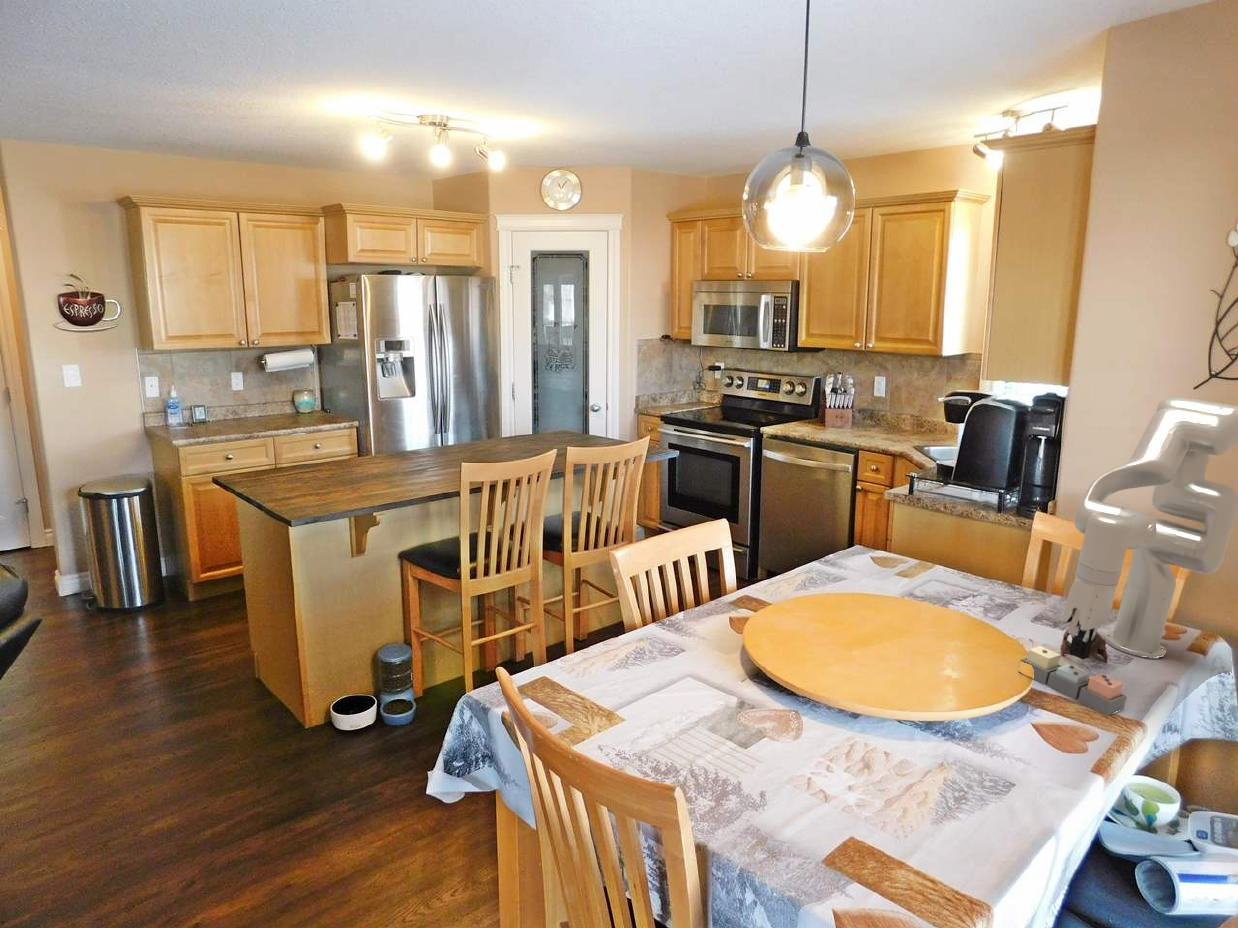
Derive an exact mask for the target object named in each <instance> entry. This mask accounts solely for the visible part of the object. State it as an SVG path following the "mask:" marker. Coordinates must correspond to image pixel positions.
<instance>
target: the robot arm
mask: <svg viewBox="0 0 1238 928" xmlns="http://www.w3.org/2000/svg"><path fill="white" fill-rule="evenodd" d="M1236 447H1238V405H1233V404H1228V403H1221V402H1214V401H1209V400H1208V401H1207V400H1201V399H1198V398H1197V399H1195V398H1189V397H1182V396H1181V397H1180V396H1179V397H1178V396H1177V397H1175V396H1174V397H1172V396H1171V397H1166V398H1162V399H1161V400H1160V402H1159V403H1158V405H1157V407H1156V411H1155V413H1154V414H1153V415H1152V417H1151V419H1150V421H1149V423H1148V424H1147V426H1146V428H1145V430H1144V432H1143V434H1142V436H1141V437H1140V440H1139V442H1138V444H1137V446H1136V447H1135V449H1134V450H1133V453H1132V455H1131V457H1130V459H1129V460H1128V461H1127V462H1124V463H1122V464H1119V465H1117V466H1115V467H1113V468H1111V469H1108V470H1107V471H1106V472H1104V473H1102V474H1101V475H1099V476H1098V477H1097V478H1095V480H1093V481H1092V482H1091V484H1090V485H1089V487H1087V489H1086V492H1085V494H1084V495H1083V497H1082V498H1081V500H1080V503H1079V505H1078V507H1077V508H1076V511H1075V515H1074V519H1073V520H1074V526H1075V528H1076V530H1078V532H1080V533H1081V534H1083V539H1082V540H1083V541H1082V544H1081V549H1080V552H1079V553H1080V554H1079V557H1078V562H1077V566H1076V570H1075V579H1074V580H1073V583H1072V585H1071V587H1070V589H1069V592H1068V596H1067V599H1066V603H1065V606H1064V609H1063V612H1062V617H1061V621H1062V623H1063V624H1069V623H1070V624H1069V627H1068V629H1069V630H1068V629H1067V630H1068V633H1069V634H1070V635H1071V634H1072V637H1073V638H1072V637H1071V639H1072V640H1071V642H1070V643H1071V647H1070V651H1069V653H1070V654H1071V655H1070V656H1072V655H1073V656H1072V657H1076V658H1078V659H1080V660H1082V661H1083V660H1087V659H1089V657H1090V656H1089V654H1090V650H1091V646H1092V642H1093V641H1091V640H1093V639H1094V638H1095V635H1096V631H1097V632H1098V629H1099V628H1100V627H1102V626H1104V625H1105V624H1107V623H1108V622H1109V619H1110V617H1111V614H1112V610H1113V605H1114V601H1115V593H1116V588H1117V587H1118V586H1119V583H1120V578H1121V573H1122V570H1123V565H1124V561H1125V557H1126V553H1127V550H1132V551H1131V552H1132V554H1131V561H1130V564H1129V565H1130V566H1129V570H1128V575H1127V578H1126V581H1125V586H1124V591H1123V594H1122V597H1121V602H1120V604H1119V610H1118V613H1117V617H1116V622H1115V626H1114V629H1113V630H1109V631H1107V632H1105V634H1104V638H1103V639H1104V640H1105V642H1106V644H1108V645H1110V646H1111V647H1113V648H1115V649H1116V650H1119V651H1121V652H1123V653H1126V654H1128V653H1129V654H1128V655H1132V654H1133V655H1132V656H1135V655H1138V656H1137V657H1139V656H1147V657H1157V656H1162V655H1164V654H1165V653H1166V654H1167V650H1166V647H1164V645H1162V644H1161V642H1162V637H1163V636H1165V635H1166V634H1167V631H1166V629H1165V626H1166V622H1167V619H1168V616H1169V613H1170V608H1171V605H1172V601H1173V598H1174V594H1175V590H1176V586H1177V580H1176V577H1175V573H1174V572H1173V569H1172V567H1171V566H1175V567H1179V568H1182V569H1186V570H1188V571H1192V572H1196V573H1200V574H1204V575H1205V574H1206V575H1210V574H1214V573H1216V572H1217V571H1218V570H1219V569H1220V568H1221V566H1222V564H1223V562H1224V558H1225V556H1226V553H1227V550H1228V546H1229V543H1230V539H1231V536H1232V532H1233V529H1234V527H1235V523H1236V519H1237V516H1238V491H1237V490H1236V488H1234V487H1233V486H1231V485H1228V484H1224V483H1221V482H1216V481H1212V480H1207V479H1206V474H1207V469H1208V466H1209V462H1210V455H1212V456H1221V455H1224V454H1226V453H1228V452H1230V451H1232V450H1233V449H1234V448H1236ZM1145 487H1154V490H1153V493H1152V502H1151V503H1152V506H1153V508H1154V509H1155V510H1157V511H1158V512H1160V513H1162V514H1165V515H1170V516H1173V517H1177V518H1179V519H1180V518H1181V519H1184V520H1185V519H1186V520H1189V521H1192V522H1196V523H1201V525H1203V526H1204V529H1202V528H1199V527H1194V526H1189V525H1187V524H1184V523H1180V522H1176V521H1172V520H1167V519H1163V518H1157V517H1153V516H1151V515H1150V514H1148V513H1146V512H1143V511H1138V510H1136V509H1132V508H1128V507H1125V506H1120V505H1116V504H1113V503H1110V502H1109V503H1108V502H1104V501H1105V500H1106V499H1107V498H1108V497H1109V496H1111V495H1113V494H1115V493H1117V492H1121V491H1123V490H1129V489H1136V488H1138V489H1139V488H1145ZM1162 649H1163V650H1162Z"/></svg>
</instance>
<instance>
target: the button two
mask: <svg viewBox="0 0 1238 928" xmlns="http://www.w3.org/2000/svg"><path fill="white" fill-rule="evenodd" d="M1061 666H1062V667H1059V668H1057V672H1056V675H1058V676H1060V677H1062V678H1064V679H1066V680H1068V681H1070V682H1072V683H1074V684H1076V685H1079V684H1082V683H1084V682H1087V681H1088V679H1090V675H1091V673H1089V672H1088V671H1085V670H1083V669H1081V668H1079V667H1077V666H1074V665H1072V664H1070V663H1068V664H1065V665H1061Z"/></svg>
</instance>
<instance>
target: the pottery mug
mask: <svg viewBox="0 0 1238 928" xmlns="http://www.w3.org/2000/svg"><path fill="white" fill-rule="evenodd" d="M1068 630H1069V628H1068V629H1066V631H1065V632H1064V633H1063V638H1062V642H1061V645H1060V653H1061V655H1062V656H1065V655H1068V656H1072V657H1074V656H1073V655H1071V654H1070V653H1069V651H1070V647H1071V643H1072V642H1070V641H1069V640H1068V639H1069V636H1071V639H1072V638H1073V637H1072V634H1069V633H1068ZM1091 641H1093V642H1092V646H1091V650H1090V654H1089V657H1094V658H1099V656H1100V657H1101V658H1102V659H1103V661H1104V663H1107V662H1108V659H1109V655H1108V652H1107V646H1106V645H1107V642H1106V641H1105V639H1104V638H1103V637H1102V636H1101V635H1100V634H1099V632H1098V630H1097V631H1096V635H1095V638H1094V639H1093V640H1091ZM1098 655H1099V656H1098Z"/></svg>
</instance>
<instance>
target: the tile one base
mask: <svg viewBox="0 0 1238 928" xmlns="http://www.w3.org/2000/svg"><path fill="white" fill-rule="evenodd" d="M1027 657H1028V656H1026V657H1023V658H1020V661H1022V662H1024V663H1027V664H1030V665H1032V667H1033V669H1034V679H1033V680H1034V681H1036V682H1038V683H1040V684H1042V685H1044V686H1045V685H1046V686H1047V684H1048V680H1049V675H1050V673H1052V672H1055V671H1057V668H1059V667H1062V666H1063V665H1061V664H1059V663H1058V667H1055V668H1052V669H1049V670H1045V669H1043V668H1041V667H1039V666H1037V665H1035V664H1032V663H1030V662H1028V661H1026V660H1027Z"/></svg>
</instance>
